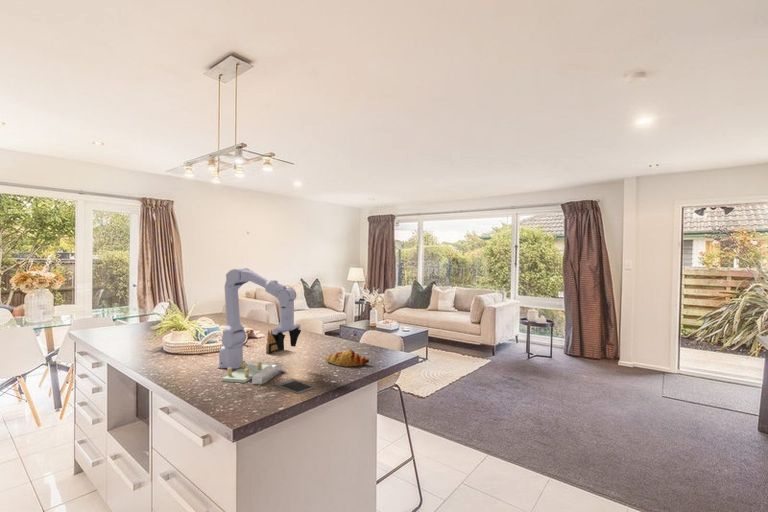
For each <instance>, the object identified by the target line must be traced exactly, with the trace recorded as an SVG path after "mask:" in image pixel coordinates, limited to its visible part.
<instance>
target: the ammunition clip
mask: <svg viewBox="0 0 768 512" xmlns="http://www.w3.org/2000/svg"><path fill="white" fill-rule="evenodd" d="M272 334H273V329H270V330H267V338H266V339H267V340H266V346H265V347H266V349H265V351H266V353H265V354H266V355H271V354H275V353H277V352H281V350H278V347H277V344H276V341H275V339H274V337H273V336H272ZM282 334H284V332H283V333H282ZM284 350H285V341H284V342H283V350H282V351H284Z"/></svg>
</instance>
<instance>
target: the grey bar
mask: <svg viewBox="0 0 768 512" xmlns="http://www.w3.org/2000/svg"><path fill="white" fill-rule="evenodd" d="M269 365H270V366H269V367H267V368H265V369H263V370H262V371H260V372H258V373H257V374H255V375H253V376H252V379H251V381H252V382H251V384H252V385H263V384H265V383H266V382H268V381H269V380H271V379H272V378H274V377H276V376H277V375H278V374H281V373H283V363H281V362H274V363H271V364H269Z"/></svg>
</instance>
